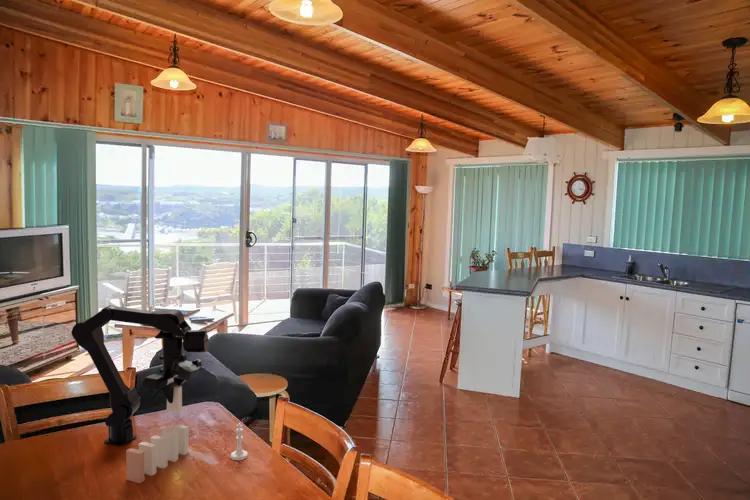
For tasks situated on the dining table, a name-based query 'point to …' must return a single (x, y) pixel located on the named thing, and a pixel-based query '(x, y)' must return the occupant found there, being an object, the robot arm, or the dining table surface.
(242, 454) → the chess piece
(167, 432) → the domino
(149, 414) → the dining table surface
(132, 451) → the domino
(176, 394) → the domino
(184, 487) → the dining table surface
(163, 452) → the domino
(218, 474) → the dining table surface
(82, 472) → the dining table surface
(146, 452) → the domino
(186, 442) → the domino
